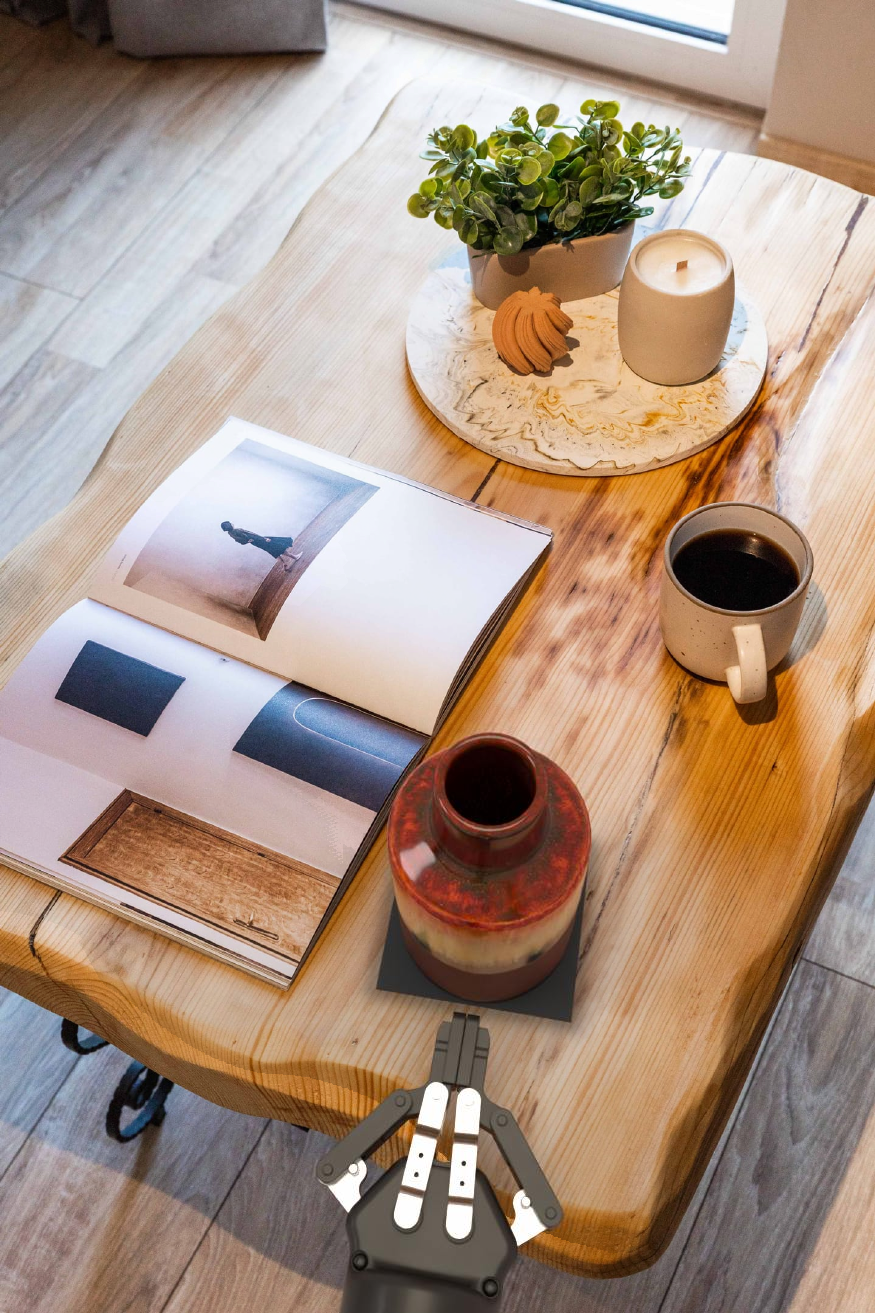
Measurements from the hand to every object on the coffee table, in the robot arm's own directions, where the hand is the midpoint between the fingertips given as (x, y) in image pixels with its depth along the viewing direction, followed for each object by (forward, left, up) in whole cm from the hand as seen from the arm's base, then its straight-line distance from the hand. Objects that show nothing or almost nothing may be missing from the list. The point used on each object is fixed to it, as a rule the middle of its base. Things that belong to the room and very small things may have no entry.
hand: (466, 1017), depth 60 cm
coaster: (0, +8, -7) cm, 11 cm away
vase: (0, +8, -8) cm, 11 cm away
